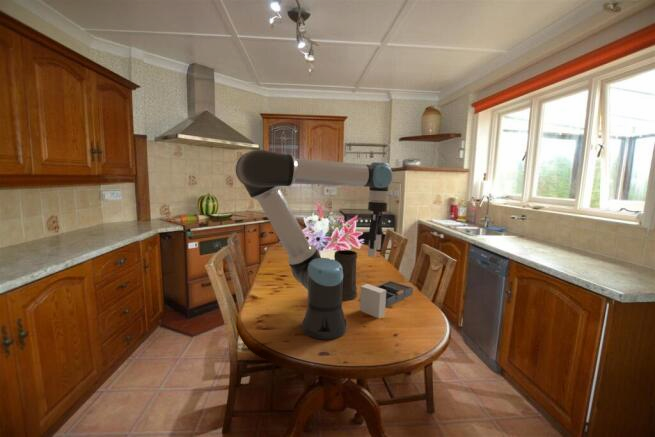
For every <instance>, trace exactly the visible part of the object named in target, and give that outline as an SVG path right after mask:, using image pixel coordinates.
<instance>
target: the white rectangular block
mask: <svg viewBox="0 0 655 437" xmlns="http://www.w3.org/2000/svg"><path fill="white" fill-rule="evenodd" d="M359 299H360V300H359V301H360V302H359V312H363V313H365V314H367V315H370V316H372V317H374V318H376V319H380V318H381V319H382V318H383V317H385V315H386V307H385V305H386V290H384V289H381V288H378V287H376V286H375V285H372V284H368V283H365V284H364V285H361V286H360V298H359Z"/></svg>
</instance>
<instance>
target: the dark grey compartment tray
mask: <svg viewBox="0 0 655 437" xmlns="http://www.w3.org/2000/svg"><path fill="white" fill-rule="evenodd" d="M375 287H378V288H381V289H384V290H386V305H385V308H388V307H390V306H392V305H393V304H396V303H398V302H400V301H401V300H403V299H404V300H405V298H408V297H409V296H411V295H413V291H414V288H413V287H411V286H409V285H405V284H401V283H399V282H395V281H392V280H389V281H386V282H384V283H382V284H379V285H377V286H375Z"/></svg>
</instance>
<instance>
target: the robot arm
mask: <svg viewBox="0 0 655 437" xmlns="http://www.w3.org/2000/svg"><path fill="white" fill-rule="evenodd" d="M235 174H236V177H237V179H238V181H239V182H240V183H241V184H243V186H244V188H245V190H246V191H247V193H248V195H249V197H250V198H252V199H254V200H256V201H257V202H258V203H259V206H260V207H261V208H262V210H263V212H264V214H265V215H266V217H267V220H268V221H269V223H270V225H271V226H272V228H273V230H274V232H275V233H276V235H277V237H278V239H279V240H280V242H281V244H282V246H283V248H284V249H285V251H286V253H287V255H288V259H287V263H288V266H289V267H290V269H291V273H292V275H293V277H294V279H295V280H296V281H297V282H298V283H300V284H301V285H302V286H303V287H304V288H305V290H307V308H306V311H305V315H304V318H303V319H302V331H303V333H304V334H305V335H306V336H308V337H309V338H312V339H315V340H316V339H317V340H326V341H327V340H334V339H337V338H340V337H342V336H343V335H344V334H345V333H347V325H348V324H347V320H346V317H345V314H344V310H343V300H342V287H343V269H342V266H341V264H340V263H339V262H337V261H336V260H335V259H334V258H332V259H331V258H328V257H321V254H320V253H319V250H318V249H317V248H316V246H315V245H311V244H310V243H309V240H308V238H307V237H306V235H305V233H304V232H303V229H302V228H301V226H300V224H299V222H298V220H297V218H296V217H295V214H294V212H293V211H292V209H291V207H290V205H289V203H288V201H287V199H286V197H285V195H284V193H283V192H282V190H281V187H291V186H292V185H293V184H306V185H325V186H326V185H328V186H344V187H345V186H346V187H347V186H349V187H364V188H367V187H368V188H369V190H368V204H367V210H368V211H369V212H372V214H371V215H370V225H369V229H368V230H369V231H368V236H367V237H366V240H367V241H368V249H367V250H368V251H367V257H372V258H376V251H377V250H378V251H380V250H381V246H382V245H381V244H382V235H384V232H383V213H386V212H387V211H388V202H387V201H388V197H389V196H390V193H389V186H390V185H391V183H392V182H393V175H394V174H393V170H392V169H391V167H390V164H389V163H387V162H378V161H377V162H375V161H373V162H372V163H371V164H363V163H355V162H354V163H352V162H342V161H330V160H321V159H320V160H318V159H308V158H307V159H306V158H305V159H304V158H296V157H294V156H293V154H288V153H281V152H275V151H272V150H271V151H270V150H266V149H265V150H264V149H256V150H255V149H254V150H252V151H249V152H246V153H244V154H242V155H241V156H240V157H239V158H238V160H237V162H236V164H235Z"/></svg>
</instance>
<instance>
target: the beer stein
mask: <svg viewBox="0 0 655 437" xmlns="http://www.w3.org/2000/svg"><path fill="white" fill-rule="evenodd" d="M333 257H334V260H336V261H337V262H339V263H340V264H341V266H342V269H343V287H342V301H349V300H350V301H351V300H353V299H356V298H357V297H358V292H357V290H358V288H357V258H358V252H357V251H354V250H348V249H346V250H345V249H342V250H341V249H339V250H336V251H335V252H334V256H333Z"/></svg>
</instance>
